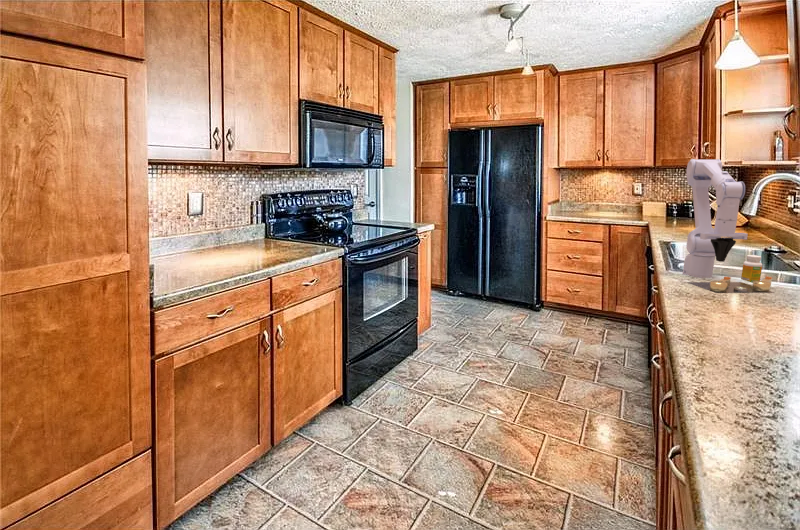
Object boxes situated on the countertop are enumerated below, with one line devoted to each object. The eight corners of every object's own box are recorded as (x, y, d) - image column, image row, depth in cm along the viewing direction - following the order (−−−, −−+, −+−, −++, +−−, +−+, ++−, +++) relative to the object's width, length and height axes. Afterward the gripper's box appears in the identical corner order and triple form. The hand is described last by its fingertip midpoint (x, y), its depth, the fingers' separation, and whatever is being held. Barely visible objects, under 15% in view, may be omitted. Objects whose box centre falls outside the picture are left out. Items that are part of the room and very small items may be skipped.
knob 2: (767, 292, 148) (769, 283, 147) (750, 289, 151) (751, 280, 150) (776, 286, 155) (777, 277, 155) (759, 284, 158) (761, 275, 158)
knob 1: (723, 292, 147) (725, 283, 146) (707, 289, 150) (708, 280, 150) (734, 287, 154) (736, 278, 154) (719, 284, 158) (720, 275, 157)
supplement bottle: (751, 285, 164) (755, 257, 162) (736, 281, 169) (740, 254, 167) (763, 284, 166) (767, 256, 164) (748, 281, 171) (752, 254, 169)
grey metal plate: (686, 286, 162) (687, 278, 161) (740, 286, 163) (741, 278, 162) (715, 297, 148) (716, 289, 147) (773, 297, 149) (775, 288, 148)
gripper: (713, 220, 150) (707, 263, 152) (757, 221, 151) (750, 263, 153) (698, 218, 157) (692, 259, 159) (740, 218, 157) (734, 259, 160)
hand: (720, 261), depth 157 cm, fingers closed
